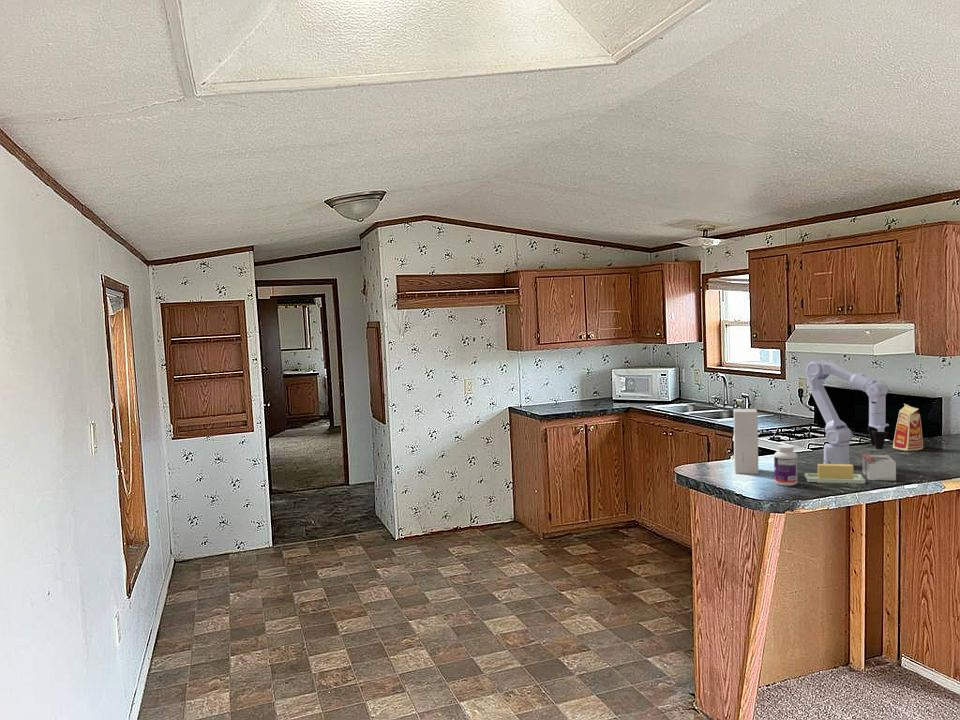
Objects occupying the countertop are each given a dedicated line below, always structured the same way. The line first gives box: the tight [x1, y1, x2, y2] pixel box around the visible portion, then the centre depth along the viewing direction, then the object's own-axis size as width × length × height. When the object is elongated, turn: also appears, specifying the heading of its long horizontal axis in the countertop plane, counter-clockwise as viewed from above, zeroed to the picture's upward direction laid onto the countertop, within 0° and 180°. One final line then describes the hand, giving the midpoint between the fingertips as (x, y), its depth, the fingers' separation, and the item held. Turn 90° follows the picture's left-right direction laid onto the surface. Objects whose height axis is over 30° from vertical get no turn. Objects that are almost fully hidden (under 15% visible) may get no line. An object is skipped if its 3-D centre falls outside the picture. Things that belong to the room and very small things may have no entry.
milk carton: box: [892, 403, 924, 452], centre depth 345 cm, size 9×9×20 cm
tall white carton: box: [733, 408, 759, 475], centre depth 313 cm, size 9×9×25 cm
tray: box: [804, 472, 866, 485], centre depth 294 cm, size 20×10×2 cm, turn 74°
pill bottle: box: [773, 444, 798, 487], centre depth 290 cm, size 8×8×14 cm
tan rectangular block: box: [817, 463, 854, 479], centre depth 293 cm, size 12×3×6 cm, turn 74°
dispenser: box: [861, 453, 897, 482], centre depth 297 cm, size 9×13×7 cm
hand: (877, 447), depth 303 cm, fingers open, 7 cm apart
